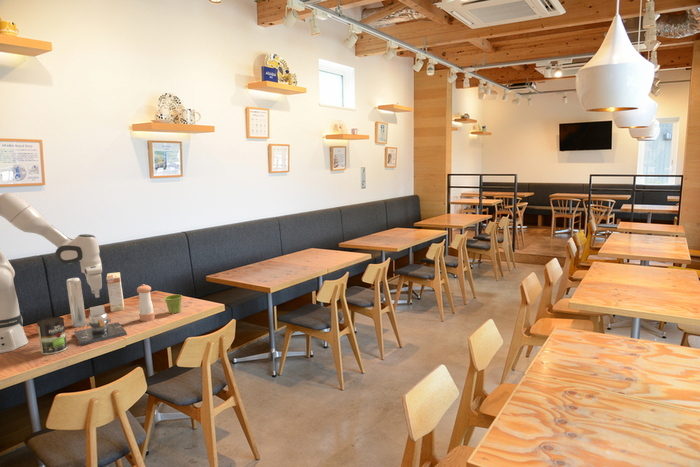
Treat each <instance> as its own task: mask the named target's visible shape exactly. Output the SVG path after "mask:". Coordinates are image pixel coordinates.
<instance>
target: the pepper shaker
mask: <svg viewBox="0 0 700 467" xmlns="http://www.w3.org/2000/svg"><path fill="white" fill-rule="evenodd" d="M151 291H152V287H151V286H150V285H147V284H144V283H143V284H141V285H140V286H138V287H137V288H136V293H138V299H139V306H138V309H139V314H138V315H139V321H140V322H150V321H152V320H153V321H154V320H155V318H156V317H155V311H154V306H153V302H152V298H151Z"/></svg>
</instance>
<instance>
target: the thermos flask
mask: <svg viewBox="0 0 700 467" xmlns="http://www.w3.org/2000/svg"><path fill="white" fill-rule="evenodd" d="M66 288H67V295H68V302H69V303H68V304H69V310H70V316H71V324H72V327H73V328H79V327H80V328H81V327H84V326H87V324H88V323H87V319H86V318H87V317H86V311H85V305H84V304H85V303H84V297H83V289H82V288H83V287H82V281H81V279H80V278H79V277H71V278H68V279H66Z"/></svg>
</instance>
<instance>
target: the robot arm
mask: <svg viewBox="0 0 700 467" xmlns="http://www.w3.org/2000/svg"><path fill="white" fill-rule="evenodd" d="M0 216H1V217H2V218H4V219H5V220H6V221H8V223H10V224H11V226H12V225H13V226H14V227H15V228H17V229H19V231H22V232H24V233H29V234H30V233H31V234H36V235H40V236H41V237H43V238H44V239H46V240H47V241H49V242H50V243H51V244H52V245H54V246H55V247H57V249H55V252H54V256H55V259H56V261H57V262H58V263H60V264H63V265H70V264H73V263H74V264H75V263H76V262H77V263H78V262H79V263H80V264H79V266H80V271H81V273H82V274H84V276H85V277H86V278H85V279H86V282H87V284H88V285H89V286H90V290H91V293H92V294H93V295H94V297H95V298H96V299H98V298H100V290H102V288H103V286H102V285H103V284H102V283H103V282H102V273H103V265H102V259H101V256H100V246H99V241H98V239H97V237H96V236H95V235H94V234H89V233H88V234H87V233H86V234H85V233H84V234H79V235H77V236H76V237H75V238H70V237H68V236H67V235H65V234H64V233H63V232H62V231H60V230H59V229H57V228H56V227H55V226H53V225H52V224H51V223H50V222H49V221H47V219H46V218H44V217H43V215H41V213H40V212H39V211H37V210H36V209H35V208H34V207H33V206H31V204H29V203H28V202H27V201H25V200H24V199H22V198H21V197H19V196H17V194H15V193H12V192H4V193H2V194H0ZM15 276H16V272H15V269H14V267H13V266H12V264H11V262H10V261H9V260H8V258H7V257H6V255H5V254H4V252H3V251H2V249H0V354H2V353H8V352H13V351H15V350H17V349H18V348H20V347H23V346H25V345H27V344H28V343H29V339H28V337H27V335H26V333H25V330H24V327H23V324H24V323H23V322H24V321H23V316H22V314H21V313H20V312H21V311H20V306H19V300H18V296H17V292H16V288H15V282H14V278H15Z"/></svg>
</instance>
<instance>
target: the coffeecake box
mask: <svg viewBox="0 0 700 467" xmlns="http://www.w3.org/2000/svg"><path fill="white" fill-rule="evenodd" d="M121 279H122V278H121V272H119V271H118V272H110V273H107V275H106V282H107V283H106V284H107V292H108V297H109V298H108V299H109V307H110V312H112V313H113V312H118V311H124V310H125V302H124V301H125V300H124V295H123V287H122V280H121Z"/></svg>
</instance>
